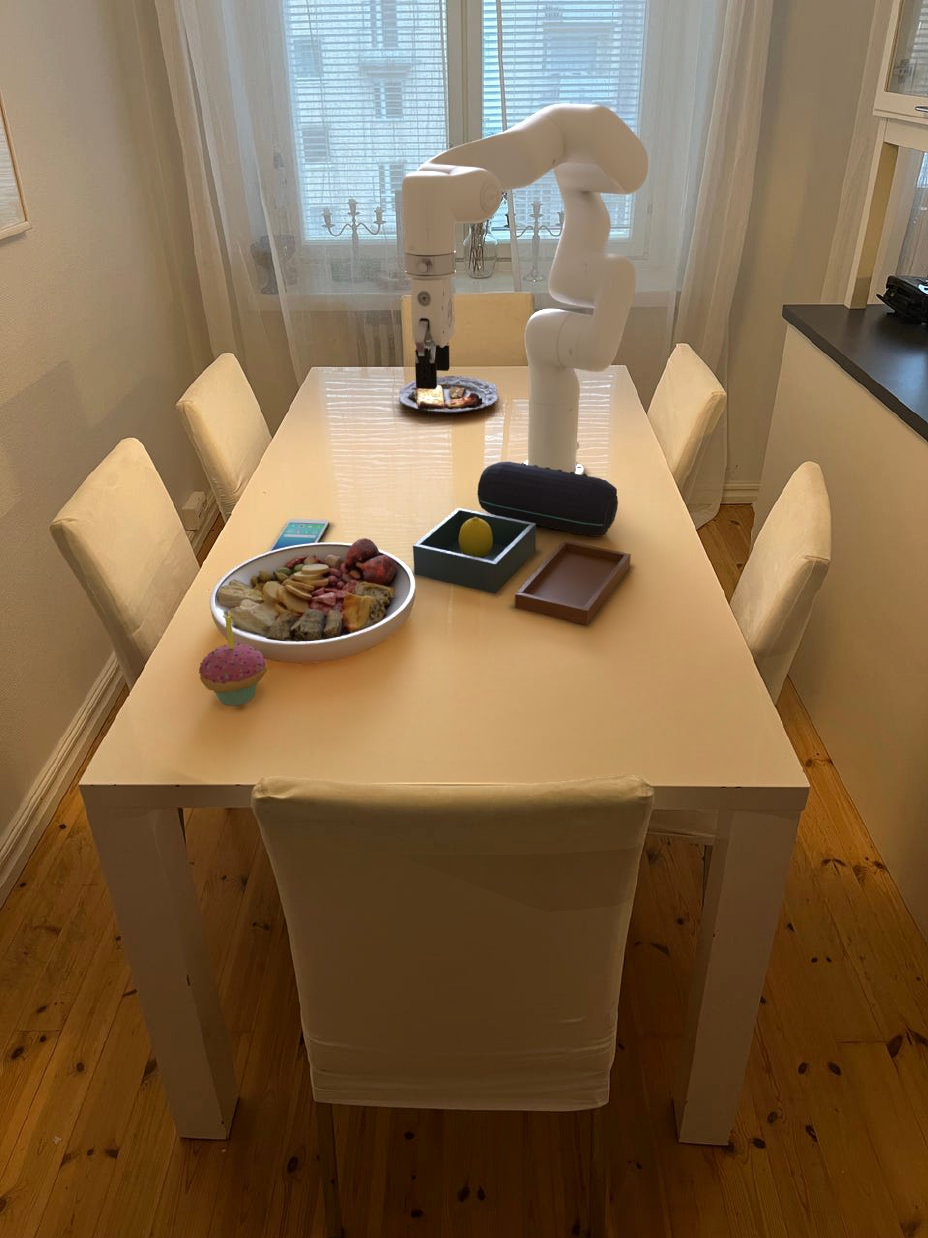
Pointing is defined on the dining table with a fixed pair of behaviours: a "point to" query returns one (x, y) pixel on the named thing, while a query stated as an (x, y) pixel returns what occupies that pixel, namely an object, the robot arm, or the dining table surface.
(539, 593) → the tray
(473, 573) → the blue open storage box
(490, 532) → the lemon
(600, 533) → the portable speaker
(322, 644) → the bowl
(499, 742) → the dining table surface
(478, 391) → the food plate
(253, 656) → the cupcake
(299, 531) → the smartphone
